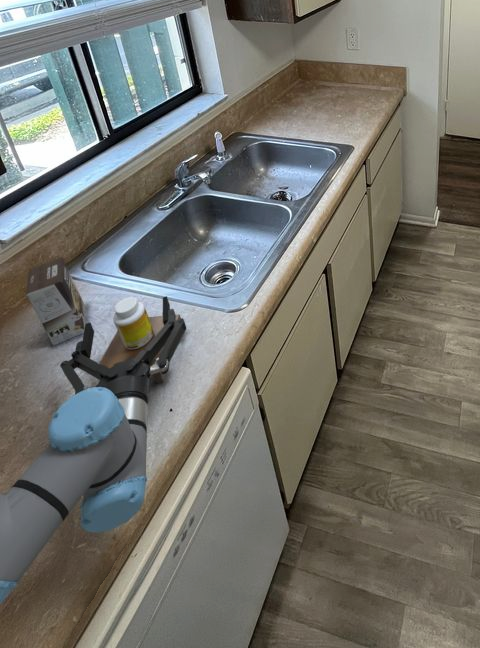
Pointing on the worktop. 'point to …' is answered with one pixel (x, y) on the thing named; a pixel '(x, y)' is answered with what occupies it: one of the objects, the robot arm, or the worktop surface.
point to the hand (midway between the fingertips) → (129, 314)
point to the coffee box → (56, 300)
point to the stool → (121, 353)
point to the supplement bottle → (132, 323)
